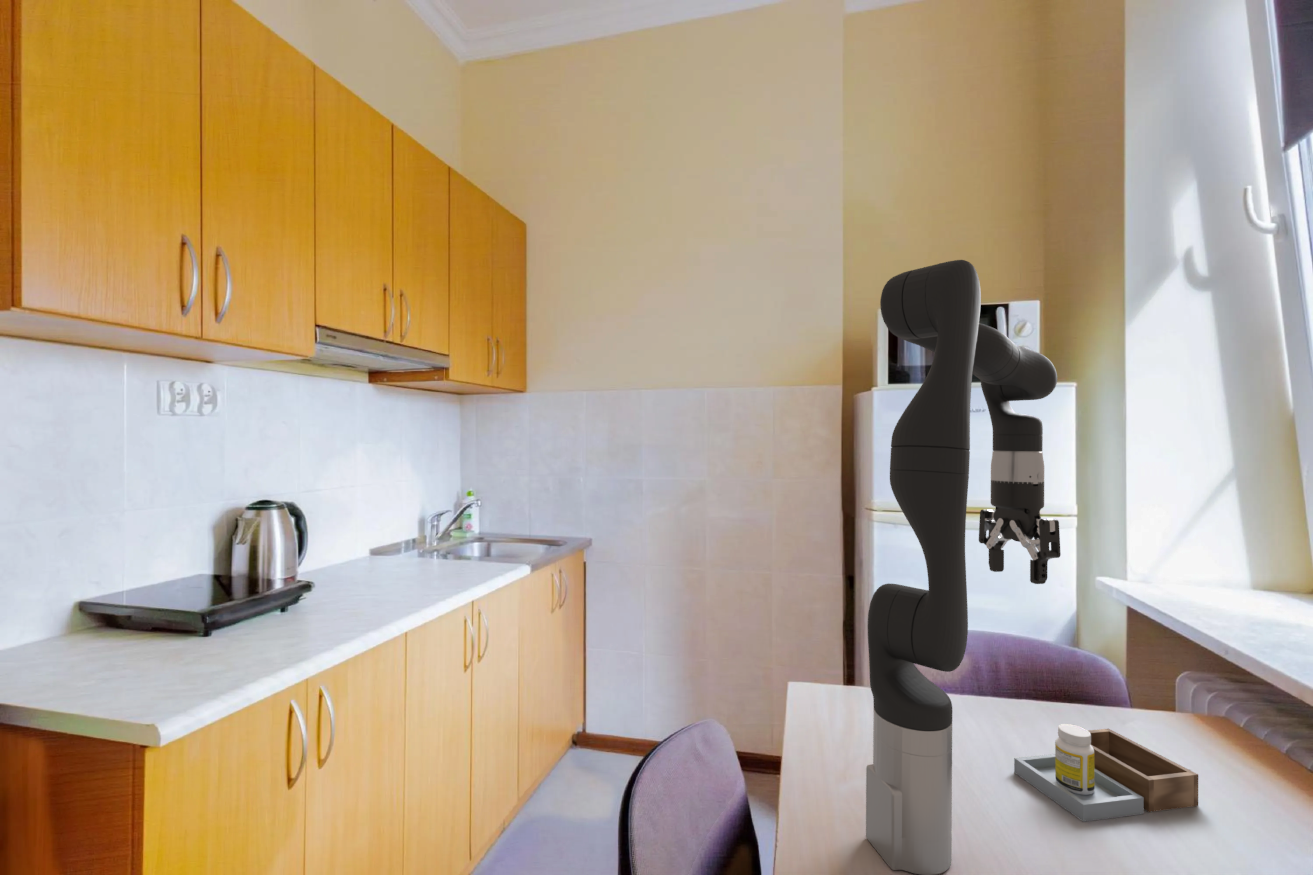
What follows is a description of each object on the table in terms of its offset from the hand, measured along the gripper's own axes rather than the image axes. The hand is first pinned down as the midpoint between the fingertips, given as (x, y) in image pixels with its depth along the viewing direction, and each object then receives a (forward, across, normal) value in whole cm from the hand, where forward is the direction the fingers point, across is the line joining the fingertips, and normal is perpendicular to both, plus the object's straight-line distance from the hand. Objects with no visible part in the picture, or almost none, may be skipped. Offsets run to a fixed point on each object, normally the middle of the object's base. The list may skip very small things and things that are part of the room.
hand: (1016, 577), depth 95 cm
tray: (+30, +9, +2) cm, 31 cm away
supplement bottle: (+30, +9, +2) cm, 31 cm away
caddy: (+30, +8, +12) cm, 34 cm away
